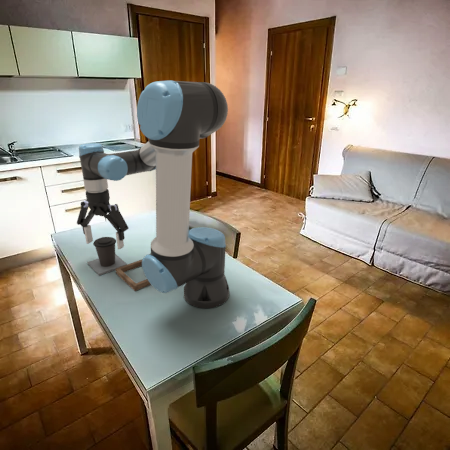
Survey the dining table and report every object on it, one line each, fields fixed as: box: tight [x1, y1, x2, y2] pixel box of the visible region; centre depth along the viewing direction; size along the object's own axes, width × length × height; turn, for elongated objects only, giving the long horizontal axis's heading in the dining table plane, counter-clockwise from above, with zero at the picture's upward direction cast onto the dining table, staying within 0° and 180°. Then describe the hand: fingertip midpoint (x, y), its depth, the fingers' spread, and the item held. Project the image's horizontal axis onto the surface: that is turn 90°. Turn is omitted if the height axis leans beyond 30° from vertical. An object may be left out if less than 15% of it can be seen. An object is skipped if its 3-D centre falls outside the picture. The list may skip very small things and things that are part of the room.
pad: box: [86, 253, 128, 277], centre depth 122 cm, size 11×11×1 cm
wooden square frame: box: [115, 259, 152, 292], centre depth 116 cm, size 14×14×3 cm
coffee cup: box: [93, 236, 117, 267], centre depth 119 cm, size 8×8×10 cm
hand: (105, 245), depth 118 cm, fingers open, 13 cm apart
